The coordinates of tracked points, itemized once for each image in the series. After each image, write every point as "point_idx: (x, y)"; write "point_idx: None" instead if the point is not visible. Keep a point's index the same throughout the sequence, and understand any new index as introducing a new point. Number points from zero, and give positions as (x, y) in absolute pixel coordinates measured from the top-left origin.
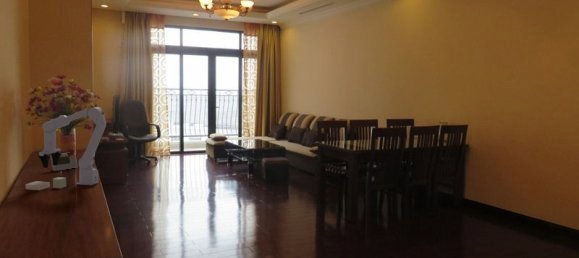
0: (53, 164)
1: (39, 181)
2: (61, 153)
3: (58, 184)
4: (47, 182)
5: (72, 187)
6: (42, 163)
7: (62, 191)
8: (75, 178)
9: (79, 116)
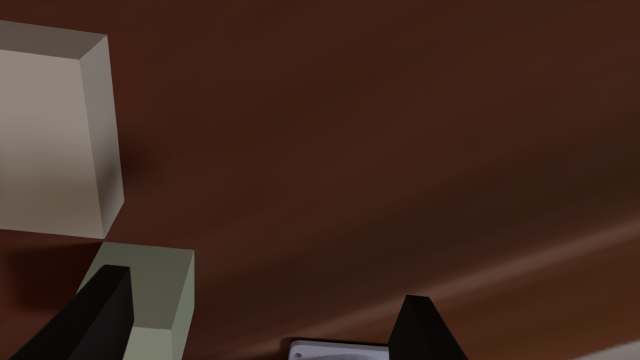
0: (406, 315)
1: (79, 113)
2: None
3: None
4: (77, 224)
5: None
6: (36, 338)
7: None
8: (566, 245)
9: None
